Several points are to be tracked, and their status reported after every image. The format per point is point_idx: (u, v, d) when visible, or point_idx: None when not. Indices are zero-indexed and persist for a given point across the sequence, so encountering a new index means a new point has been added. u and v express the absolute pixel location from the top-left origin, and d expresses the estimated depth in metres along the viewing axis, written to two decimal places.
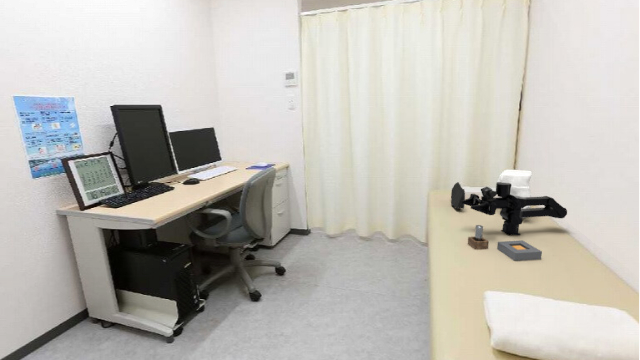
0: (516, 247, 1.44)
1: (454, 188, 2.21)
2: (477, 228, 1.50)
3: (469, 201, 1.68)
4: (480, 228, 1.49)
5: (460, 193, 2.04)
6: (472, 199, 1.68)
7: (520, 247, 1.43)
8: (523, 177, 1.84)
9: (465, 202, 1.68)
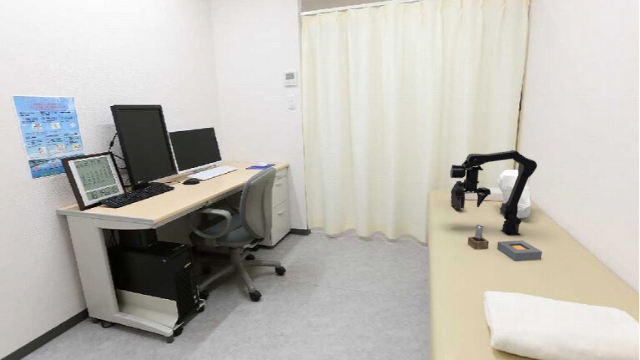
0: (516, 247, 1.44)
1: None
2: (477, 228, 1.50)
3: (479, 198, 1.69)
4: (480, 228, 1.49)
5: None
6: (478, 195, 1.70)
7: (520, 247, 1.43)
8: None
9: (478, 203, 1.70)
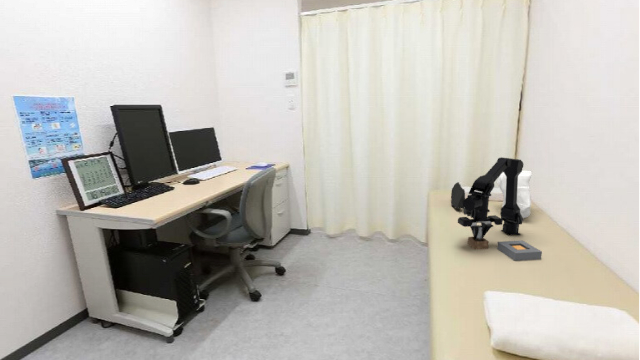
0: (516, 247, 1.44)
1: (454, 188, 2.21)
2: None
3: (483, 228, 1.51)
4: (480, 228, 1.49)
5: (460, 193, 2.04)
6: (482, 224, 1.52)
7: (520, 247, 1.43)
8: (523, 177, 1.84)
9: (482, 233, 1.51)
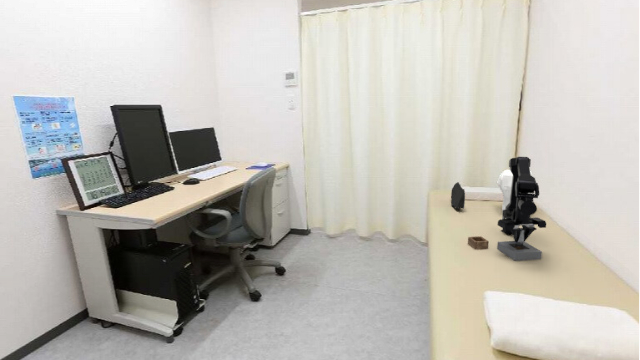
0: None
1: (454, 188, 2.21)
2: None
3: None
4: (522, 231, 1.40)
5: (460, 193, 2.04)
6: (524, 227, 1.43)
7: None
8: None
9: None
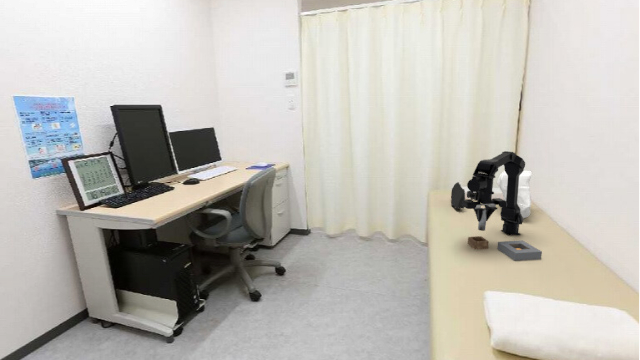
0: None
1: (454, 188, 2.21)
2: None
3: (487, 211, 1.49)
4: (484, 211, 1.47)
5: (460, 193, 2.04)
6: (486, 207, 1.49)
7: None
8: (523, 177, 1.84)
9: None
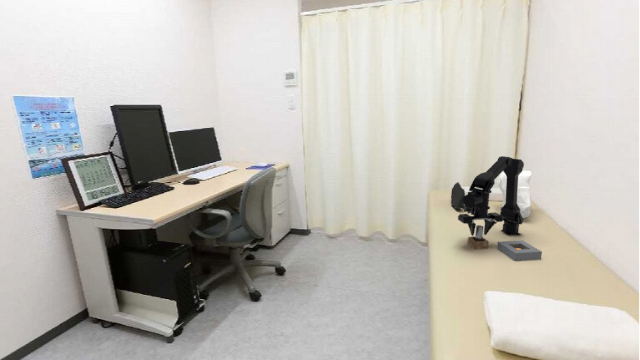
0: None
1: (454, 188, 2.21)
2: (477, 228, 1.50)
3: (486, 225, 1.51)
4: (480, 228, 1.49)
5: (460, 193, 2.04)
6: (485, 221, 1.52)
7: None
8: (523, 177, 1.84)
9: (485, 230, 1.51)
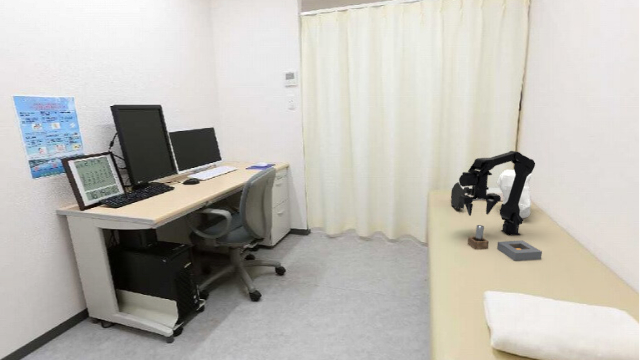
0: None
1: (454, 188, 2.21)
2: (478, 228, 1.50)
3: (488, 205, 1.61)
4: (481, 228, 1.49)
5: (460, 193, 2.04)
6: (487, 201, 1.61)
7: None
8: None
9: (487, 210, 1.61)
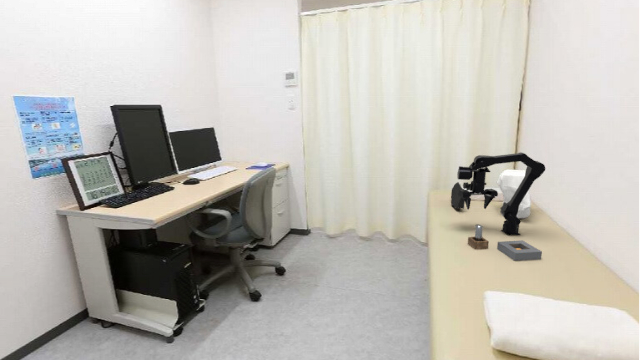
0: None
1: (454, 188, 2.21)
2: (477, 228, 1.50)
3: (486, 200, 1.70)
4: (480, 228, 1.50)
5: None
6: (485, 196, 1.71)
7: None
8: (523, 177, 1.84)
9: (485, 204, 1.70)
